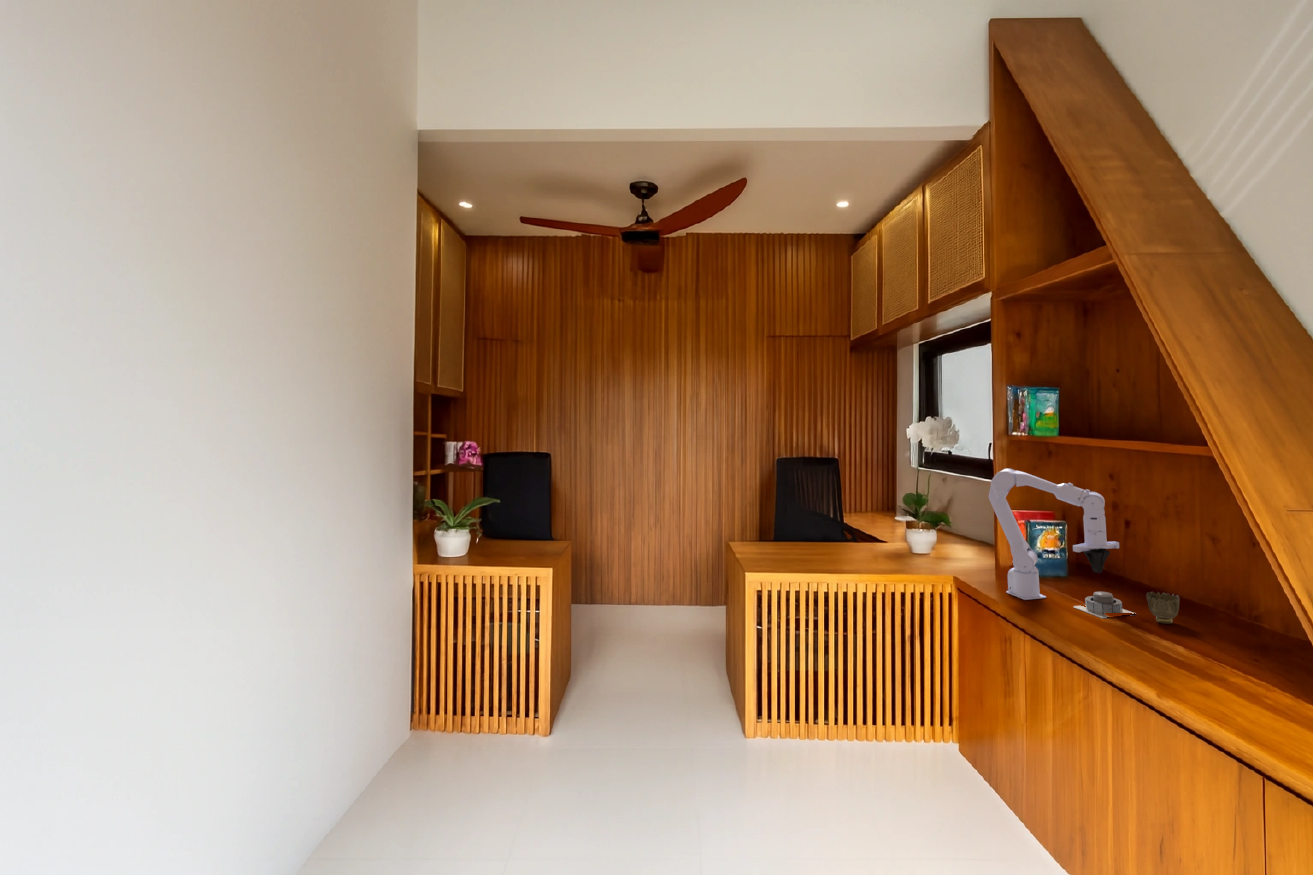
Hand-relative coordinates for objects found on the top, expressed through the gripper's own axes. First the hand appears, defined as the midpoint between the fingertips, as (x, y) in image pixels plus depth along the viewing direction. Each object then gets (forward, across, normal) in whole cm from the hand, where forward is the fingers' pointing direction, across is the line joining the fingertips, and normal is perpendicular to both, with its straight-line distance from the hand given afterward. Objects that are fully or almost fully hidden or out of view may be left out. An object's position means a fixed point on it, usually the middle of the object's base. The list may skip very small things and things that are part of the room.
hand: (1097, 572), depth 188 cm
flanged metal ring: (+10, -4, -6) cm, 13 cm away
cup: (+11, +3, -19) cm, 22 cm away
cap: (+10, -4, -6) cm, 12 cm away
